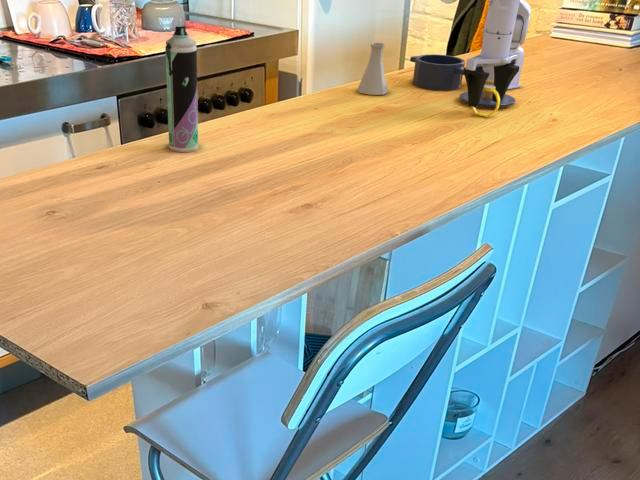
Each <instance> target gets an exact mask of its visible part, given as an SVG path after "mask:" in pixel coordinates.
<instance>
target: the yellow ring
mask: <svg viewBox="0 0 640 480" xmlns="http://www.w3.org/2000/svg"><path fill="white" fill-rule="evenodd" d="M495 88H496V87H495V86H493V85H484V87H483V90H482V91H484V90H485V91H492V92H493V93H494V94H495V95H496V99H497V104H496V108H494V110H493V111H492V112H491V113H489V114H487V113H483V112H479V111H478V109H477V107H472V106H470V108H471V111H472V113H473V115H475V116H480V117H484V118H490V117H491V116H493V115H495V113H496V112H497V111H498V110H499V108H500V107H499V105H500V96H499V94H498V92H497V91H496V90H495Z"/></svg>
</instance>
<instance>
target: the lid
mask: <svg viewBox="0 0 640 480" xmlns="http://www.w3.org/2000/svg"><path fill="white" fill-rule="evenodd" d="M485 85H493V86H494V80H490V79H489V80H486V82H485ZM492 94H493V92H492V91H485V90H482V94H481V98H480V102H479V105H478V108H487V109H489V108H490V109H495V108H496V104H497V102H494V101H492ZM459 100H460V101H461V102H464V103H466V104H468V91H464V92H461V93H460V94H459ZM516 102H517V100H516V98H515V97H513V96H512V95H509V94H506V93H505V95H504V97H503V100H502V102H501V103H500V105H499V108H507V107H511V106H514V105H515V104H516Z"/></svg>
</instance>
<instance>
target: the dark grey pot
mask: <svg viewBox="0 0 640 480" xmlns="http://www.w3.org/2000/svg"><path fill="white" fill-rule="evenodd" d="M409 61H410V63H414V67H413V68H414V69H413V76H412V85H413V86H415V87H416V88H419V89H424V90H428V91H437V92H438V91H439V92H447V91H448V92H449V91H455V90H459V89H461V86H462V83H463V77H464V73H463V71H464V68H465V67H466V61H465V60H464V59H462V58H461V57H457V56H454V55H446V54H435V53H433V54H421V55H415V56H410V59H409Z"/></svg>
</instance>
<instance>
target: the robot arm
mask: <svg viewBox="0 0 640 480" xmlns="http://www.w3.org/2000/svg"><path fill="white" fill-rule="evenodd" d="M531 12H532V9H531V5H530V3H529V2H527V1H526V0H488V8H487V14H486V17H485V21H484V27H483V31H482V32H483V33H482V44H481V50H480V53H479V54H477V55H475V56H472V57H468V58H466V61H465V66H464V71H463V73H464V75H463V77H464V78H465V82H466V87H467V92H468V103H467V104H468V106H470V107H471V106H472V107H475V108H479V106H478V105H479V102H480V98H481V94H482V91H484V90H483V87H484V85H485V82H486V80H489V79H490V80H494V86H495V87H496V88H495V90H496V91H497V92H498V94H499V96H500V103H501V102H502V100H503V97H504V95H505V94H506V93H507V91H508V90H512V89H516V88H521V87H522V84H520V80H521V74H522V70H523V65H524V61H525V52H524V49H523V47H522V46H523V45H524V44H525V42H526V38H527V33H528V29H529V24H530V21H531V20H530V19H531V17H530V16H531ZM492 101H494V102H497V99H496V95H495V94H494V93H493V94H492Z"/></svg>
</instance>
